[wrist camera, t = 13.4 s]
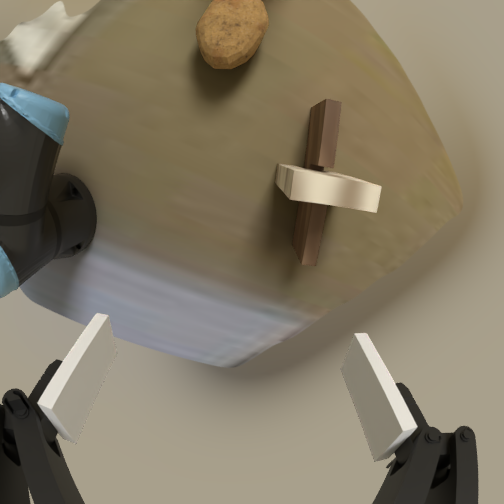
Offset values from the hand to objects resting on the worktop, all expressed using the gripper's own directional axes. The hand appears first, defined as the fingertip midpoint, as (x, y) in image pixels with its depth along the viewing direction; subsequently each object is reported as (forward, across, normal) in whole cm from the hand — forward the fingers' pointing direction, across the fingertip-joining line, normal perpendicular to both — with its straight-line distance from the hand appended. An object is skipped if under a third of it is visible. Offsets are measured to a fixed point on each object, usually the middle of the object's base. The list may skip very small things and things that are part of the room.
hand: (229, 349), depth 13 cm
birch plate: (+30, +10, +6) cm, 33 cm away
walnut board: (+30, +10, +6) cm, 33 cm away
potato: (+31, -4, +28) cm, 42 cm away
